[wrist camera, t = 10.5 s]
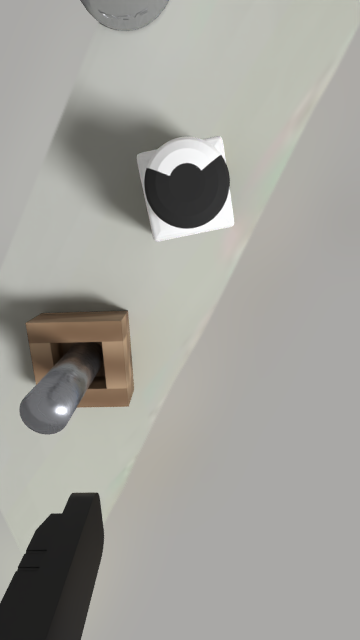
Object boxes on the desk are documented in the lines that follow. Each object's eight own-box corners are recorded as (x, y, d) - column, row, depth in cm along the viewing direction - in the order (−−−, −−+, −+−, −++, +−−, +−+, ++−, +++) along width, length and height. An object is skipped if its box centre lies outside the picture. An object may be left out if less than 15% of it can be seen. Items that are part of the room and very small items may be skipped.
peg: (68, 339, 37) (15, 391, 25) (102, 339, 37) (65, 390, 25) (72, 371, 38) (24, 434, 27) (106, 370, 38) (71, 433, 26)
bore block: (42, 313, 37) (25, 323, 33) (127, 310, 37) (121, 320, 33) (54, 390, 40) (40, 408, 36) (133, 388, 40) (128, 406, 36)
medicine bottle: (225, 226, 34) (246, 226, 23) (159, 239, 35) (147, 245, 23) (214, 153, 32) (230, 112, 21) (145, 168, 33) (123, 136, 21)
